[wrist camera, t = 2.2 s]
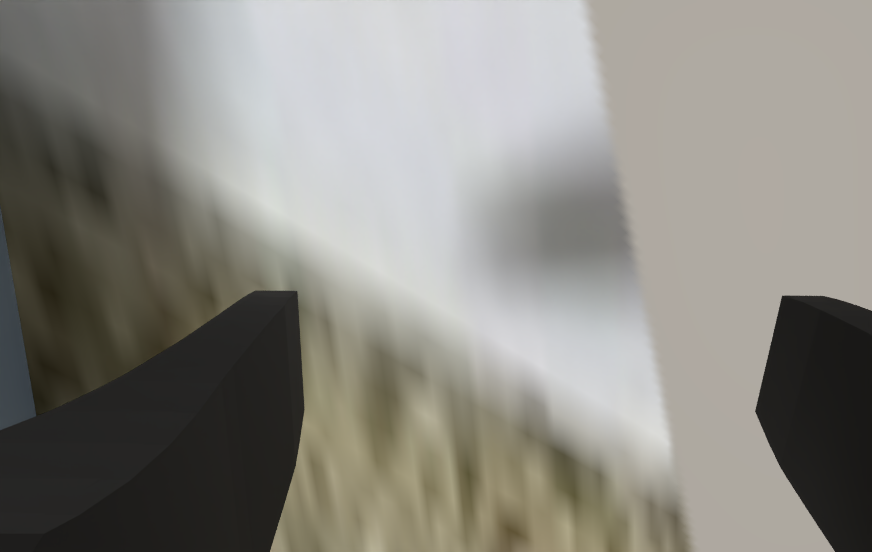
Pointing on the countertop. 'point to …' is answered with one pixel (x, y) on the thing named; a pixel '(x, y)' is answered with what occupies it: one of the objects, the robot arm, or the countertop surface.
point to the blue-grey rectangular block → (12, 350)
